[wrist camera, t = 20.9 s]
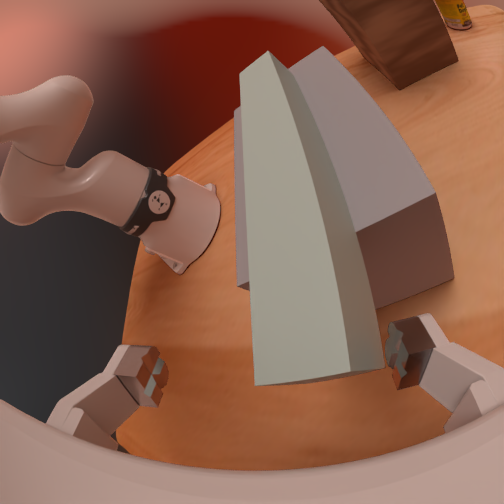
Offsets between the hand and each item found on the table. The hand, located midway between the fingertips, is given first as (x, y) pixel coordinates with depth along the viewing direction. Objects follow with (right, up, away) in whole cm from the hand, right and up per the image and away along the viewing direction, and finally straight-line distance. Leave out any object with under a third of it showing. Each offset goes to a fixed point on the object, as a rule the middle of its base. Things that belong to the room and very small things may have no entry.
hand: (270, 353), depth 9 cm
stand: (+24, +34, +20) cm, 46 cm away
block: (+12, +7, +18) cm, 23 cm away
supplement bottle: (+35, +42, +12) cm, 56 cm away
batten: (+3, +9, +7) cm, 11 cm away
